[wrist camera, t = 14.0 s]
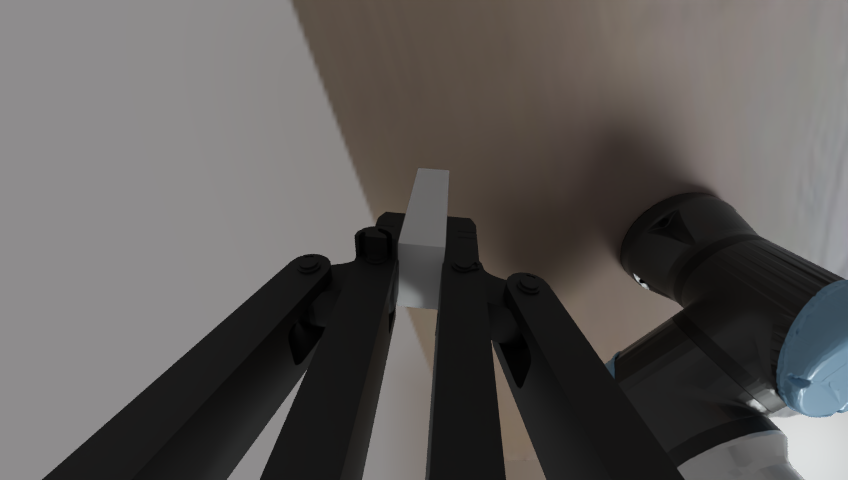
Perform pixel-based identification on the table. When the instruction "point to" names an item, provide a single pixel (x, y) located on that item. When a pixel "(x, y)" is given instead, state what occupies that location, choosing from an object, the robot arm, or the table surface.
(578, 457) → the robot arm
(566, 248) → the table surface
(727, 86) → the table surface
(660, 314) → the table surface
